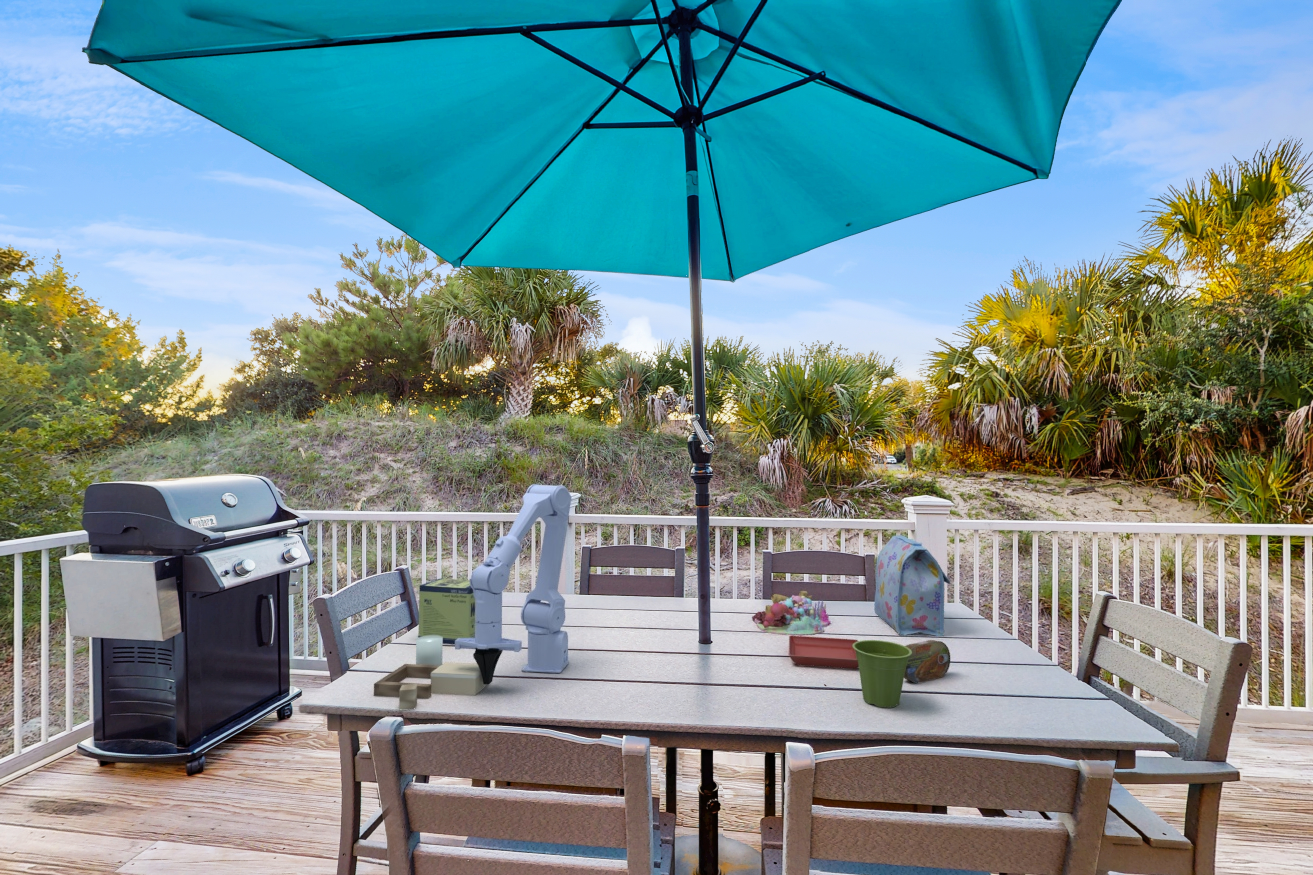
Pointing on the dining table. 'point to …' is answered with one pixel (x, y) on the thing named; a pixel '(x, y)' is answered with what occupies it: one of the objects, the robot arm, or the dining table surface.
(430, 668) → the brown square frame
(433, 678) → the beige rectangular block
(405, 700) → the beech block
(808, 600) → the coral reef model
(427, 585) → the protein box
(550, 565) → the robot arm
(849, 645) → the plant saucer
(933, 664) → the tin
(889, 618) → the lunch bag
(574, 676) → the dining table surface
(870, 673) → the plant pot
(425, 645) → the dome-topped pale cylinder
